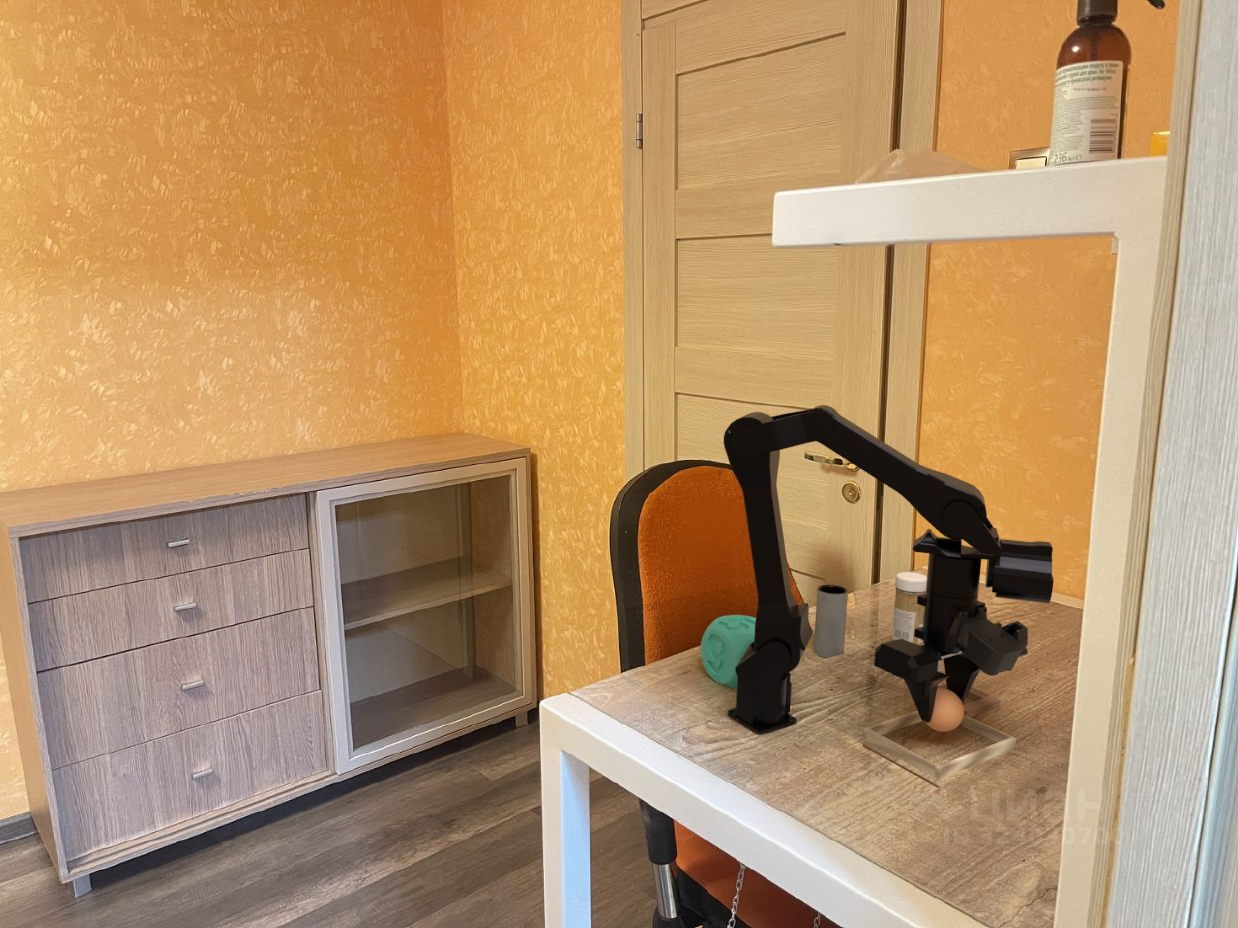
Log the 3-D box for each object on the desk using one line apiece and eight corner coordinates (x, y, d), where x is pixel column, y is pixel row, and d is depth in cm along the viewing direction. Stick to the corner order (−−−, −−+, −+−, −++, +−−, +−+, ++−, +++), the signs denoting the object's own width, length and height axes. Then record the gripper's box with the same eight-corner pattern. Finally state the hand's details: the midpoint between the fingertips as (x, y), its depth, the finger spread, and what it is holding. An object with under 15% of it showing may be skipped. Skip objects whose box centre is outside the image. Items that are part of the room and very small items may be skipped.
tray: (937, 787, 99) (939, 768, 98) (862, 745, 108) (863, 728, 107) (1014, 756, 106) (1016, 738, 106) (938, 719, 115) (939, 702, 115)
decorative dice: (777, 681, 126) (780, 627, 125) (735, 693, 122) (737, 638, 121) (740, 661, 133) (742, 610, 131) (698, 673, 128) (700, 620, 127)
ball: (943, 742, 103) (947, 702, 102) (909, 725, 107) (912, 686, 106) (971, 732, 106) (974, 693, 105) (936, 716, 110) (939, 678, 109)
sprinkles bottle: (927, 663, 133) (934, 577, 131) (904, 668, 131) (911, 581, 129) (905, 653, 137) (912, 569, 135) (882, 657, 135) (889, 572, 133)
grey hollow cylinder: (832, 645, 140) (836, 583, 138) (849, 656, 136) (854, 592, 134) (807, 649, 138) (811, 585, 136) (824, 660, 134) (828, 594, 132)
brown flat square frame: (965, 726, 114) (966, 711, 113) (920, 705, 119) (921, 691, 119) (999, 713, 117) (1000, 699, 117) (954, 694, 123) (955, 680, 123)
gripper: (959, 626, 92) (945, 765, 95) (1064, 598, 102) (1049, 725, 104) (875, 595, 101) (866, 723, 104) (979, 572, 111) (968, 690, 114)
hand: (940, 716), depth 106 cm, fingers closed on ball, 5 cm apart
